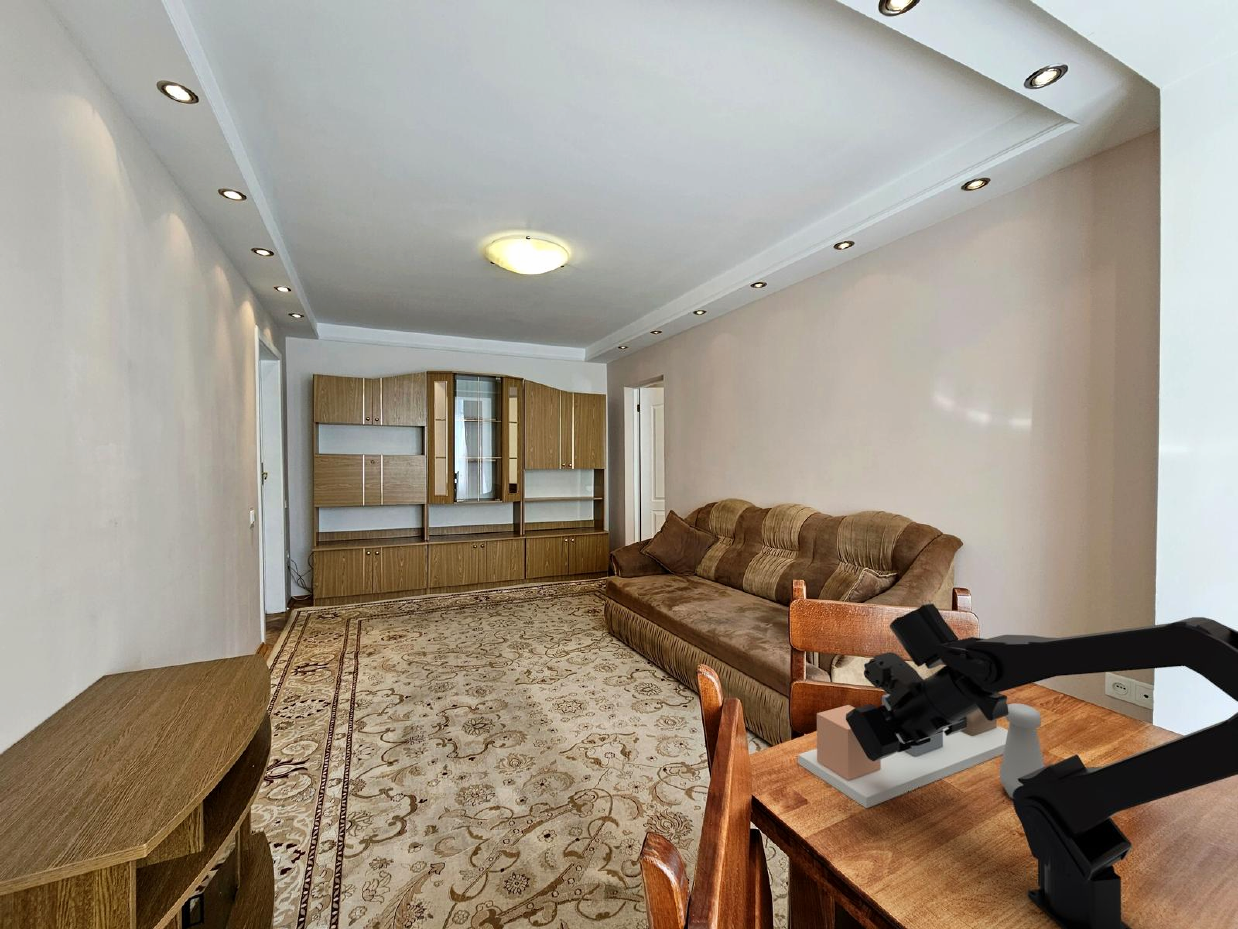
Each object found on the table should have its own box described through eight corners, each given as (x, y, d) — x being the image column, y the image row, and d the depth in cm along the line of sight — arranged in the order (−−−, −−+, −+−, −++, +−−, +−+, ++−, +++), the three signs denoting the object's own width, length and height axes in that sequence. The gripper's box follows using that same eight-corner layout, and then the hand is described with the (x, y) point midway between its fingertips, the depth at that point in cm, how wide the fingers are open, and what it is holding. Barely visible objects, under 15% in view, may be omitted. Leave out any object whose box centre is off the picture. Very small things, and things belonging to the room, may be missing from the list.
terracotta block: (880, 769, 84) (880, 720, 84) (848, 780, 81) (847, 729, 81) (848, 751, 89) (848, 704, 90) (817, 761, 86) (816, 713, 86)
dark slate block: (942, 746, 91) (942, 701, 91) (915, 756, 88) (914, 709, 88) (909, 731, 96) (909, 688, 96) (882, 740, 93) (882, 695, 93)
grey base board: (950, 715, 106) (950, 707, 106) (1024, 745, 94) (1024, 736, 94) (798, 763, 89) (798, 754, 89) (866, 808, 77) (866, 797, 77)
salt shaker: (1058, 812, 76) (1057, 717, 76) (1011, 807, 77) (1010, 714, 77) (1035, 787, 82) (1034, 700, 82) (992, 783, 83) (991, 697, 83)
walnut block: (996, 727, 97) (996, 685, 97) (972, 736, 94) (972, 692, 94) (962, 714, 103) (962, 673, 103) (938, 721, 100) (938, 680, 100)
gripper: (946, 632, 81) (881, 680, 91) (857, 651, 72) (796, 702, 82) (1003, 707, 74) (926, 750, 84) (912, 738, 65) (838, 782, 75)
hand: (871, 743), depth 81 cm, fingers closed
